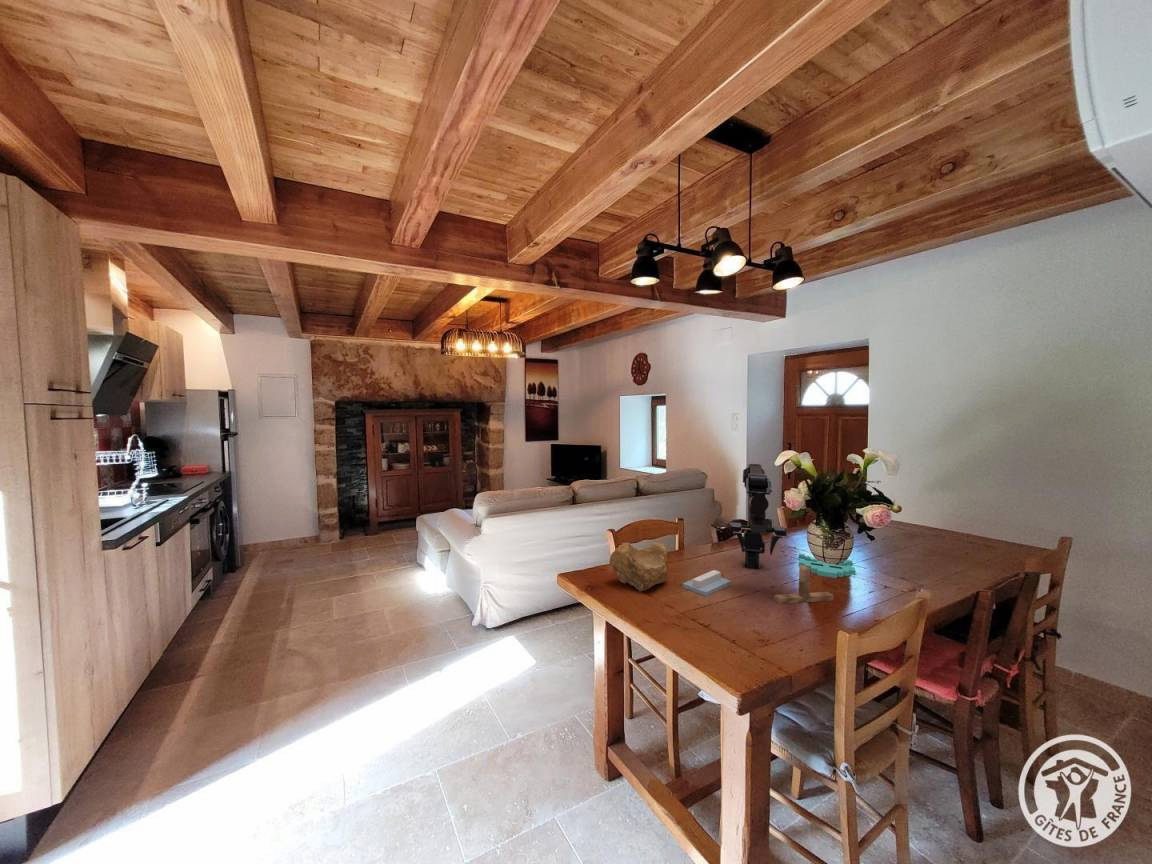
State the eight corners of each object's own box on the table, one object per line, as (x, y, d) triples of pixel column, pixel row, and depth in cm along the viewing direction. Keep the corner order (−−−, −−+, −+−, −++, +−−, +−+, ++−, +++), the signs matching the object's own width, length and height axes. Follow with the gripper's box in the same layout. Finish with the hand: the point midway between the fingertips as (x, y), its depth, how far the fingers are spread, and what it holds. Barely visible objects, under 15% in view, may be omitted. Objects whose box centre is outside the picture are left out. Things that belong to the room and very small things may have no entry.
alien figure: (798, 558, 191) (798, 573, 173) (798, 553, 191) (798, 567, 173) (851, 565, 182) (857, 582, 164) (852, 560, 182) (857, 576, 164)
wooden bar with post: (779, 604, 145) (780, 569, 144) (773, 600, 148) (774, 566, 147) (833, 601, 147) (834, 566, 147) (826, 597, 150) (827, 563, 150)
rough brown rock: (622, 600, 149) (625, 559, 148) (604, 578, 165) (607, 541, 163) (680, 593, 157) (684, 554, 155) (658, 573, 172) (661, 537, 170)
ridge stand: (707, 576, 168) (707, 566, 168) (730, 584, 160) (730, 574, 160) (682, 587, 158) (682, 576, 158) (706, 596, 150) (706, 585, 150)
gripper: (730, 509, 150) (729, 554, 149) (788, 513, 144) (788, 560, 143) (729, 506, 161) (729, 549, 160) (784, 510, 155) (784, 554, 154)
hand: (756, 553), depth 154 cm, fingers open, 9 cm apart
